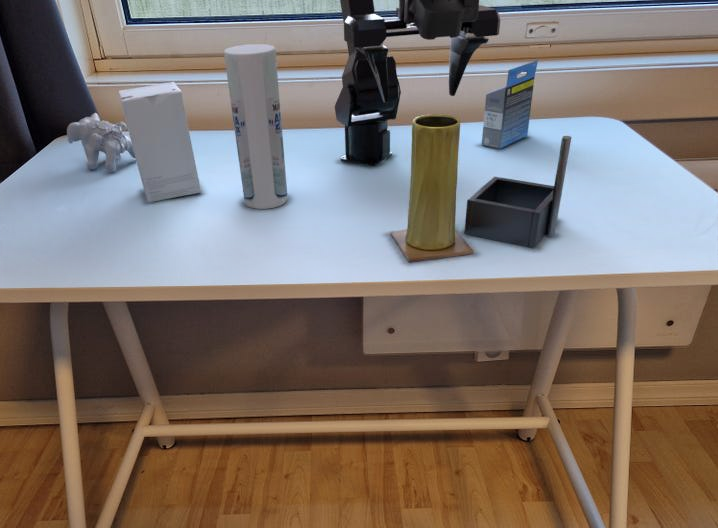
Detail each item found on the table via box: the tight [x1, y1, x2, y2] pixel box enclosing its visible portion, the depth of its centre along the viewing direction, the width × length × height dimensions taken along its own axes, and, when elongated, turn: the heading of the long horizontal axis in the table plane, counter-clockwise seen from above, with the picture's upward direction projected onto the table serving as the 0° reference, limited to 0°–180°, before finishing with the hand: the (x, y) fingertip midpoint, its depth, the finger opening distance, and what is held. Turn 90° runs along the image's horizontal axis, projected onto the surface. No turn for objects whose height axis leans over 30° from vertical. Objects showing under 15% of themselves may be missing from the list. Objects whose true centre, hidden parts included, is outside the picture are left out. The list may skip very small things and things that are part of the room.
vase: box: [405, 113, 461, 250], centre depth 74 cm, size 6×6×14 cm
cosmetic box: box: [118, 81, 202, 203], centre depth 91 cm, size 8×6×15 cm
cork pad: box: [390, 229, 475, 263], centre depth 78 cm, size 8×8×1 cm
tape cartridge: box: [481, 59, 538, 150], centre depth 105 cm, size 9×4×12 cm, turn 136°
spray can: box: [223, 43, 288, 210], centre depth 86 cm, size 6×6×20 cm
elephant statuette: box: [66, 112, 136, 173], centre depth 105 cm, size 9×12×8 cm
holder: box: [464, 135, 572, 249], centre depth 77 cm, size 10×9×12 cm
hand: (419, 98), depth 84 cm, fingers open, 9 cm apart
